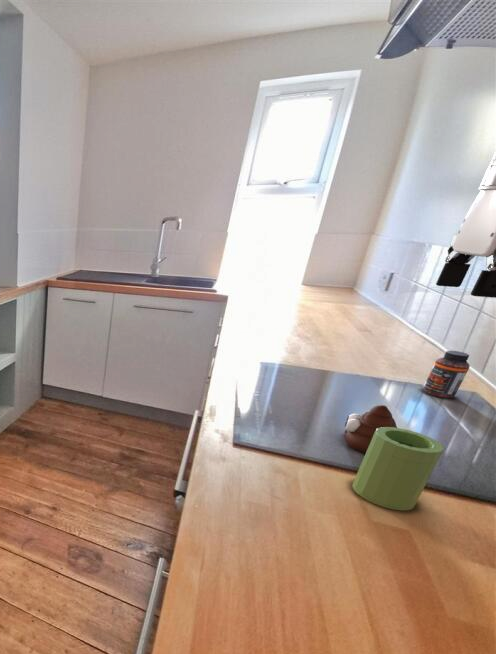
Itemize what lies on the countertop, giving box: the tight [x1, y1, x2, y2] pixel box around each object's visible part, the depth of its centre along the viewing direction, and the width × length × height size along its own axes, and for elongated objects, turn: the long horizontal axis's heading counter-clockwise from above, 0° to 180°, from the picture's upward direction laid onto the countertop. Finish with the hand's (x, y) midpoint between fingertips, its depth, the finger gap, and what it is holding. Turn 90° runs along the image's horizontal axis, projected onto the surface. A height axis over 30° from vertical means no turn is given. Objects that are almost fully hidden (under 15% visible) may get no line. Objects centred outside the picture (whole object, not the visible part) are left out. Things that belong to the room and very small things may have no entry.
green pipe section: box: [352, 427, 445, 512], centre depth 67 cm, size 8×8×11 cm
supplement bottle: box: [422, 350, 471, 399], centre depth 104 cm, size 6×6×11 cm
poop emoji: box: [343, 404, 398, 454], centre depth 82 cm, size 10×8×9 cm
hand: (464, 291), depth 70 cm, fingers open, 9 cm apart
